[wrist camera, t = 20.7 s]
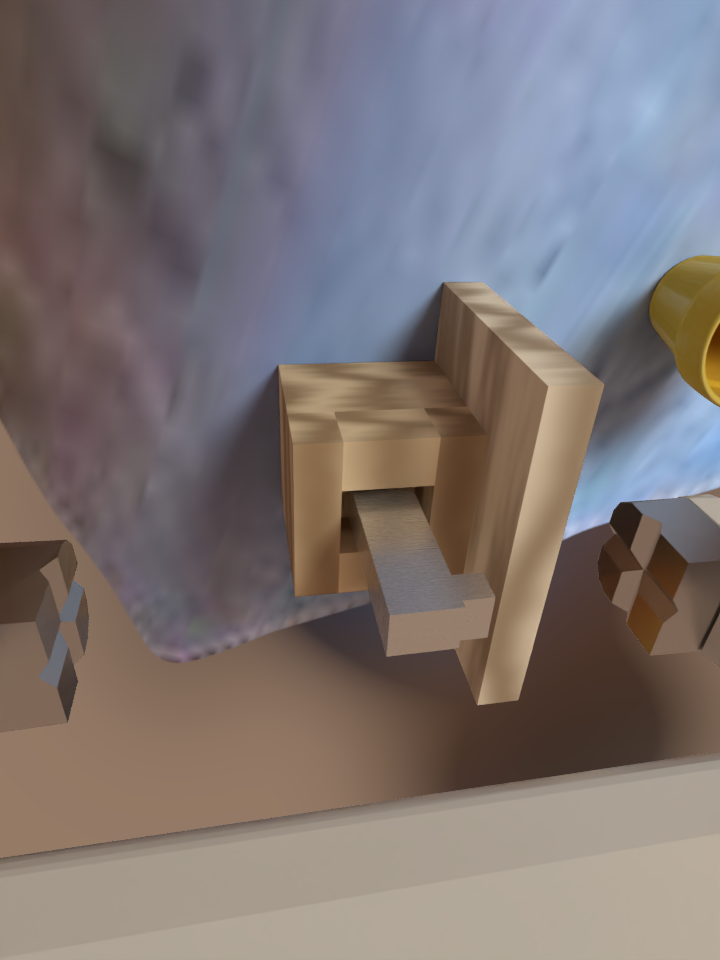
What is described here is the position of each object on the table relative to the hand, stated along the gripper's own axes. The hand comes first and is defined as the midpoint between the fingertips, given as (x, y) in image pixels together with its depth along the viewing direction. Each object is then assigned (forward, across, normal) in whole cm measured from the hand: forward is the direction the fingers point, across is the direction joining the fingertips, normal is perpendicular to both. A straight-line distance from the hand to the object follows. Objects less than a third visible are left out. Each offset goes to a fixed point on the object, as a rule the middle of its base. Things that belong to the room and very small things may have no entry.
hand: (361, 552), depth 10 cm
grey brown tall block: (+29, -7, +18) cm, 35 cm away
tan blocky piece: (+37, -9, +18) cm, 42 cm away
